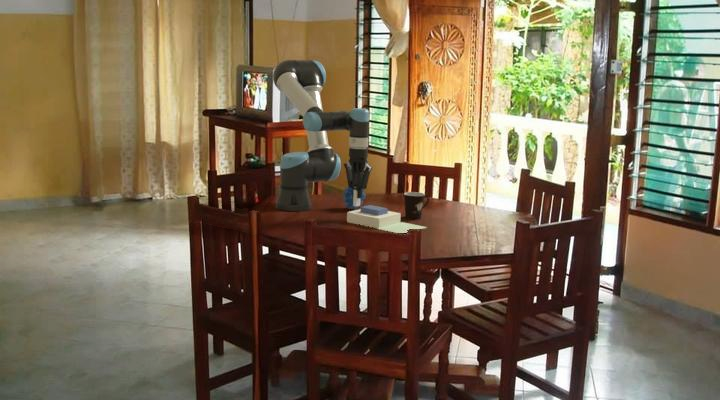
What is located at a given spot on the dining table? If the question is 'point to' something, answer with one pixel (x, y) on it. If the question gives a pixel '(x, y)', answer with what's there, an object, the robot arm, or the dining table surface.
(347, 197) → the grapes
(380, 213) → the blue rectangular block
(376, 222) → the cream flat block
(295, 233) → the dining table surface
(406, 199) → the coffee mug
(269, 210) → the dining table surface
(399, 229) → the mat
